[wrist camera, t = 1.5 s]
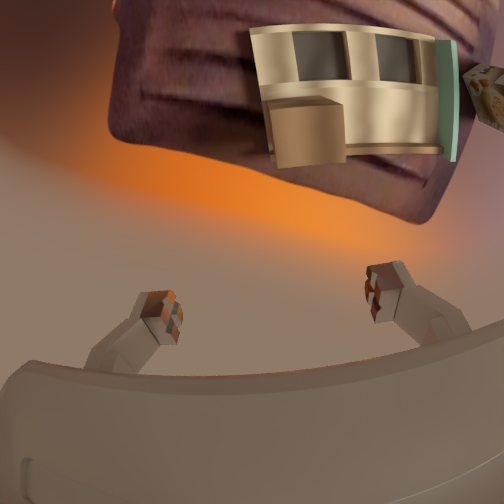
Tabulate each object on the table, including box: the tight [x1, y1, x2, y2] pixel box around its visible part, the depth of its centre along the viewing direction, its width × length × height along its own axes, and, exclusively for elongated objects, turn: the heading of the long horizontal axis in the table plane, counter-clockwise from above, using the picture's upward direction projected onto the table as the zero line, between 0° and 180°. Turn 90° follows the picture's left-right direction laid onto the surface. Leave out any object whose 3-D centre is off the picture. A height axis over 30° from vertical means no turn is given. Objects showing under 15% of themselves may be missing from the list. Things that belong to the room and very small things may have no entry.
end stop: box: [435, 40, 459, 162], centre depth 28 cm, size 1×18×6 cm, turn 9°
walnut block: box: [266, 95, 346, 169], centre depth 29 cm, size 7×6×10 cm
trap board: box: [249, 24, 444, 162], centre depth 29 cm, size 26×18×4 cm
